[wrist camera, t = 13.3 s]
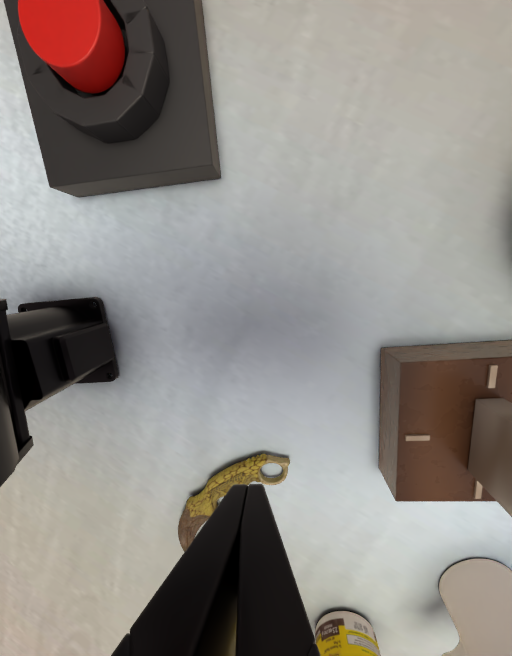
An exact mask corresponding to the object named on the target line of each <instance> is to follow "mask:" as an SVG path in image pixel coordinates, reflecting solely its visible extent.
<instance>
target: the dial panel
mask: <svg viewBox="0 0 512 656" xmlns="http://www.w3.org/2000/svg"><path fill="white" fill-rule="evenodd" d="M493 398H503V399H505V400H507V401H509V402H510V403H512V340H504V341H488V342H471V343H454V344H437V345H421V346H404V347H387V348H381V381H380V434H379V469H380V471H381V473H382V475H383V477H384V479H385V481H386V483H387V485H388V487H389V489H390V491H391V493H392V495H393V497H394V498H395V500H396V501H496V500H495V499H494V498H493V497H492V496H491V494H490V493H489V492H488V491H487V490H486V489H485V488H484V487H483V486H482V485H481V484H480V483H479V482H478V481H477V480H476V479H475V478H474V477H473V475H472V474H471V473H470V472H469V471H468V463H469V454H470V445H471V437H472V428H473V419H474V410H475V402H476V399H493Z"/></svg>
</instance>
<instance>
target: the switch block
mask: <svg viewBox="0 0 512 656" xmlns="http://www.w3.org/2000/svg"><path fill="white" fill-rule="evenodd" d="M103 1H104V2H105V4H106V5H107V7H108V8H109V10H110V11H111V13H112V15H113V16H114V18H115V19H116V21H117V23H118V25H119V27H120V29H121V32H122V35H123V39H124V45H125V60H124V65H123V69H122V72H121V74H120V76H119V78H118V79H117V81H116V82H115V83H114V84H113V85H112V86H111V87H110V88H109V89H107V90H105V91H103V92H100V93H95V94H91V93H85V92H82V91H79V90H77V89H76V88H74V87H73V86H71V85H70V84H69V83H68V82H67V81H66V80H65V79H63V78H62V77H61V76H60V75H59V74H58V73H57V72H56V71H54V70H53V69H52V68H51V67H50V66H49V65H48V64H47V63H46V62H44V61H43V60H42V59H41V58H40V57H39V56H38V55H37V54H36V53H35V52H34V50H33V49H32V48H31V46H30V45H29V43H28V41H27V40H26V38H25V36H24V33H23V31H22V28H21V24H20V20H19V14H18V0H4V3H5V7H6V12H7V16H8V20H9V24H10V28H11V32H12V36H13V40H14V44H15V48H16V52H17V56H18V60H19V64H20V68H21V72H22V76H23V80H24V84H25V89H26V93H27V97H28V101H29V105H30V109H31V113H32V117H33V121H34V125H35V129H36V133H37V137H38V141H39V145H40V149H41V153H42V157H43V162H44V166H45V170H46V174H47V178H48V182H49V186H50V187H51V188H54V189H56V190H59V191H62V192H65V193H67V194H70V195H73V196H76V197H83V196H91V195H98V194H106V193H113V192H121V191H128V190H136V189H143V188H151V187H158V186H166V185H174V184H181V183H189V182H196V181H204V180H211V179H219V178H221V173H220V163H219V154H218V145H217V136H216V127H215V118H214V109H213V100H212V91H211V82H210V73H209V63H208V54H207V45H206V36H205V27H204V18H203V9H202V0H103Z"/></svg>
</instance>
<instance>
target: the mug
mask: <svg viewBox="0 0 512 656" xmlns="http://www.w3.org/2000/svg"><path fill="white" fill-rule="evenodd" d="M439 591H440V595H441V597H442V599H443V601H444V603H445V606H446V608H447V610H448V612H449V614H450V616H451V618H452V620H453V622H454V624H455V627H456V629H457V631H458V634H459V637H460V640H459V643H458V645H457V647H456V648H455V649H453V650H452V651H450V652H446V653H444V654H443V655H442V656H512V571H511V570H510V569H509V568H508V567H506V566H505V565H503V564H501V563H499V562H496V561H493V560H489V559H470V560H465V561H462V562H459V563H457V564H455V565H453V566H452V567H450V568H449V569H448V570H447V571H446V572H445V573H444V574H443V575H442V577H441V579H440V583H439Z"/></svg>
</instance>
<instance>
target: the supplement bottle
mask: <svg viewBox="0 0 512 656" xmlns="http://www.w3.org/2000/svg"><path fill="white" fill-rule="evenodd" d="M315 638H316V644H317V646H318V649H319V652H320V655H321V656H381V655H380V651H379V647H378V644H377V640H376V636H375V633H374V630H373V628H372V627H371V625H370V624H369V623H368V621H367V620H365V619H364V618H363V617H361V616H360V615H358V614H355V613H352V612H348V611H335V612H331V613H328V614H326V615H325V616H323V617H322V618H321V619H320V620H319V622H318V624H317V626H316V630H315Z"/></svg>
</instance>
